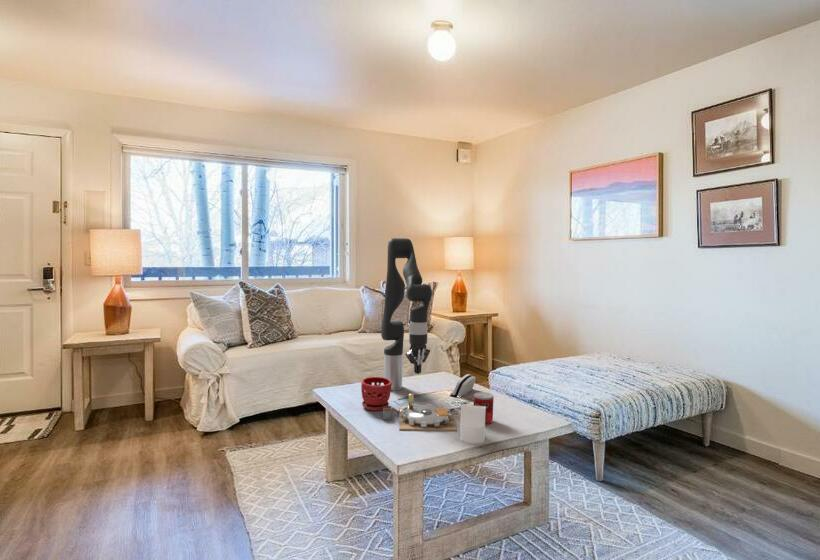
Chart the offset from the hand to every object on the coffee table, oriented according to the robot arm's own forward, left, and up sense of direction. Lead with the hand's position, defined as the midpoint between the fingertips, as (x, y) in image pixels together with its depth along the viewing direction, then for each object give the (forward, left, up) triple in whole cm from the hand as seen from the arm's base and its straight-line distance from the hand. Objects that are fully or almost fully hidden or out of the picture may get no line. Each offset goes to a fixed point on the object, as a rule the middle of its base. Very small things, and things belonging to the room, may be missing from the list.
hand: (417, 373), depth 197 cm
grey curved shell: (-29, +24, -18) cm, 42 cm away
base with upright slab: (+24, +20, -18) cm, 36 cm away
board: (+6, +4, -18) cm, 19 cm away
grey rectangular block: (+4, -12, -18) cm, 22 cm away
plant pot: (-8, -17, -18) cm, 26 cm away
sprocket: (+6, +4, -18) cm, 19 cm away
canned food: (+7, +27, -18) cm, 33 cm away
